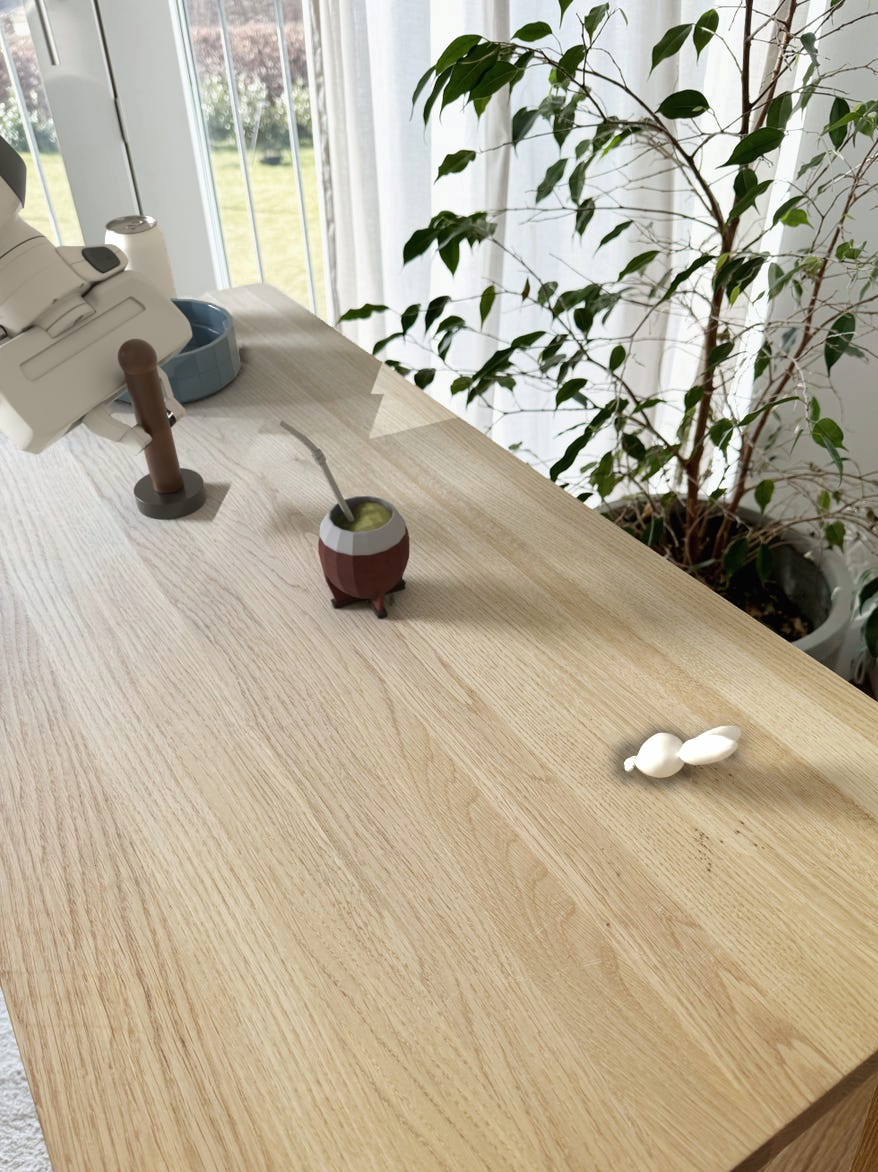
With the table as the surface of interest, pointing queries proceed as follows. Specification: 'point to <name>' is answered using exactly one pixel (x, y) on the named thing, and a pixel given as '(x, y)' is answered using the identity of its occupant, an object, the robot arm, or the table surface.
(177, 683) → the table surface
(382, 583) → the mate gourd
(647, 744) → the rabbit figurine
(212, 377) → the bowl
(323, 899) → the table surface
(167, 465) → the wooden handled press
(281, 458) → the table surface
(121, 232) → the can
